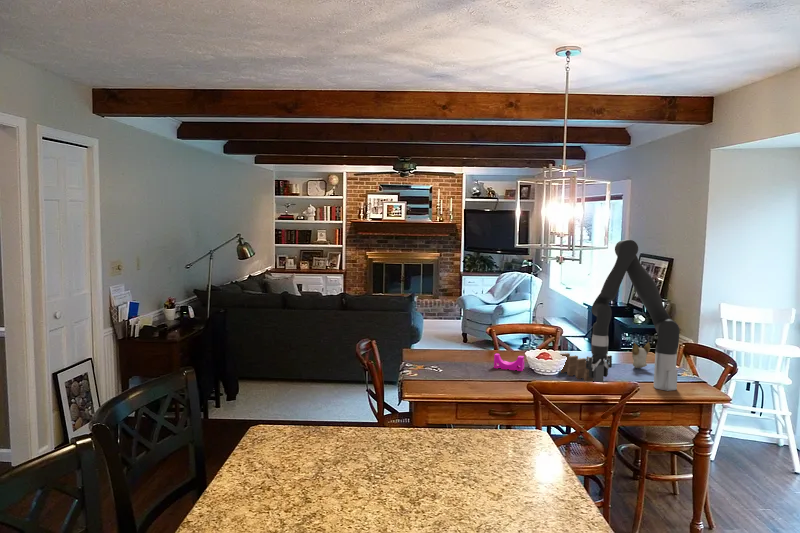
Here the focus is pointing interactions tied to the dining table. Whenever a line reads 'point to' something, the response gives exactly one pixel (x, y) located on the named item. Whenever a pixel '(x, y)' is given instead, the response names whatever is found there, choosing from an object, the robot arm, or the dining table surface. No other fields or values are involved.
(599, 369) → the black domino
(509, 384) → the dining table surface
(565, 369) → the walnut domino
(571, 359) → the walnut domino
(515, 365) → the toy block
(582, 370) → the walnut domino
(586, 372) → the walnut domino
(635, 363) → the ceramic sculpture
